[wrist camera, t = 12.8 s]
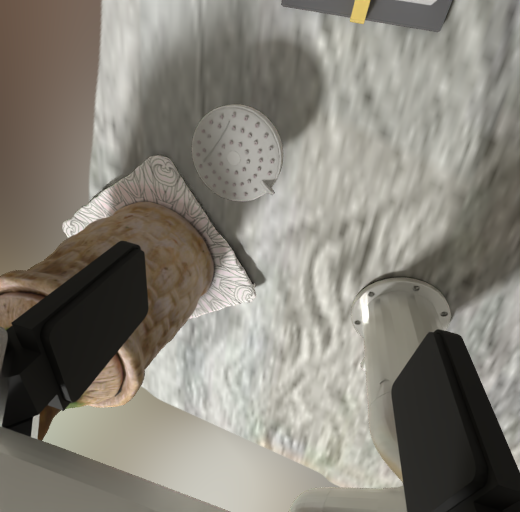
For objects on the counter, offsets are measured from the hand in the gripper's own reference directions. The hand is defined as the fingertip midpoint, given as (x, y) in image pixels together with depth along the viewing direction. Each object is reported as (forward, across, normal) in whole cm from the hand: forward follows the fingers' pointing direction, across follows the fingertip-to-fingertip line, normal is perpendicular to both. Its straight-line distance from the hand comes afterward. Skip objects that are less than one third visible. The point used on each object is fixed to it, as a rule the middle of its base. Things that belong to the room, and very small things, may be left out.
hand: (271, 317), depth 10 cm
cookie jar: (+29, +20, +22) cm, 41 cm away
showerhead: (+28, +8, +2) cm, 30 cm away
